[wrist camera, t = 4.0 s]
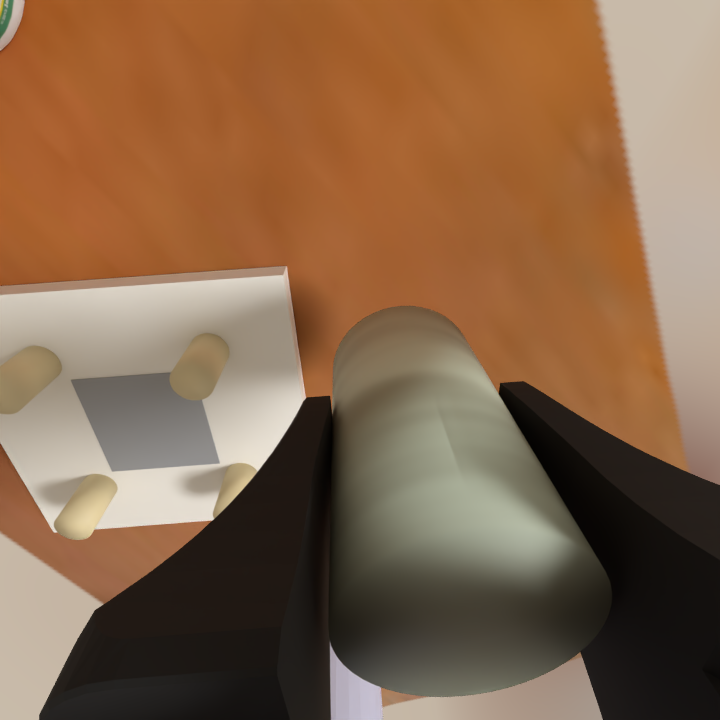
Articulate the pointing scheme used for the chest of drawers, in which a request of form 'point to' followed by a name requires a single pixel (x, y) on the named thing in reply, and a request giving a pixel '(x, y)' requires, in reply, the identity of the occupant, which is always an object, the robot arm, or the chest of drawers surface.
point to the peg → (445, 522)
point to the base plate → (146, 392)
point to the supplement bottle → (9, 19)
